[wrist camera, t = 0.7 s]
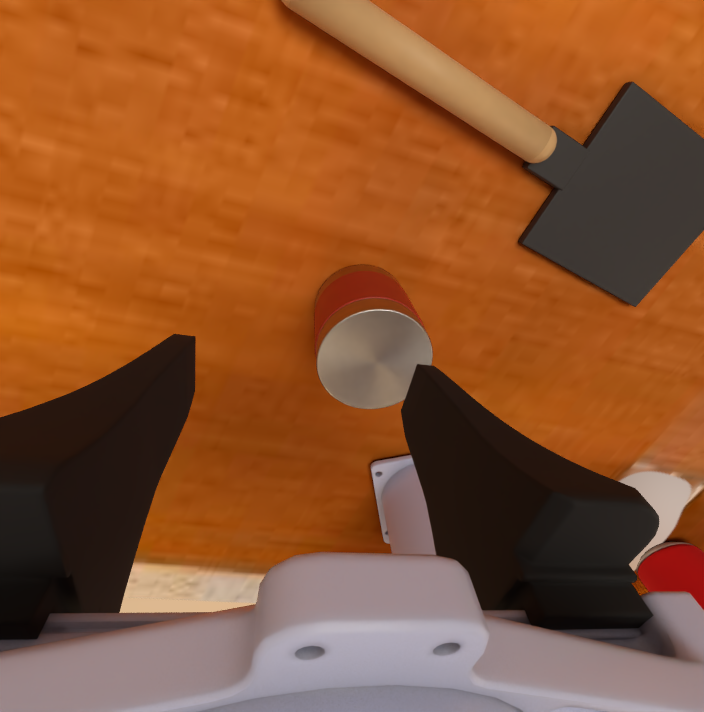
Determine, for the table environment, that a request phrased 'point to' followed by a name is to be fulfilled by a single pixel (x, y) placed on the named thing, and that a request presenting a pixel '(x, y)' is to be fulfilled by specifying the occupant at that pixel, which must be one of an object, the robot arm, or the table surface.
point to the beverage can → (674, 569)
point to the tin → (367, 338)
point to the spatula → (559, 157)
